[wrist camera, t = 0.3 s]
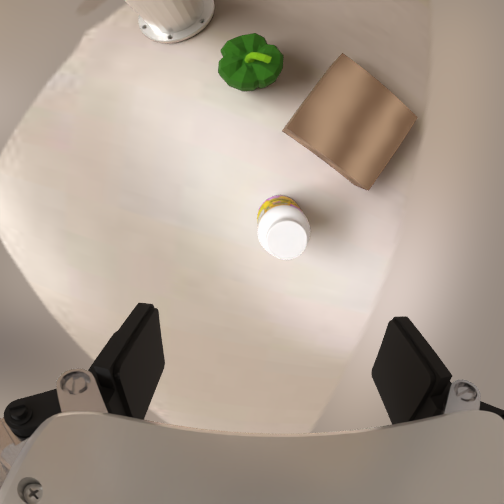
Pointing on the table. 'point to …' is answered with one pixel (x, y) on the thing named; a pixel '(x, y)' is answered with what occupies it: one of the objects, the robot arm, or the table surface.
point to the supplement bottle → (282, 227)
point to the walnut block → (351, 122)
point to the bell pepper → (250, 62)
